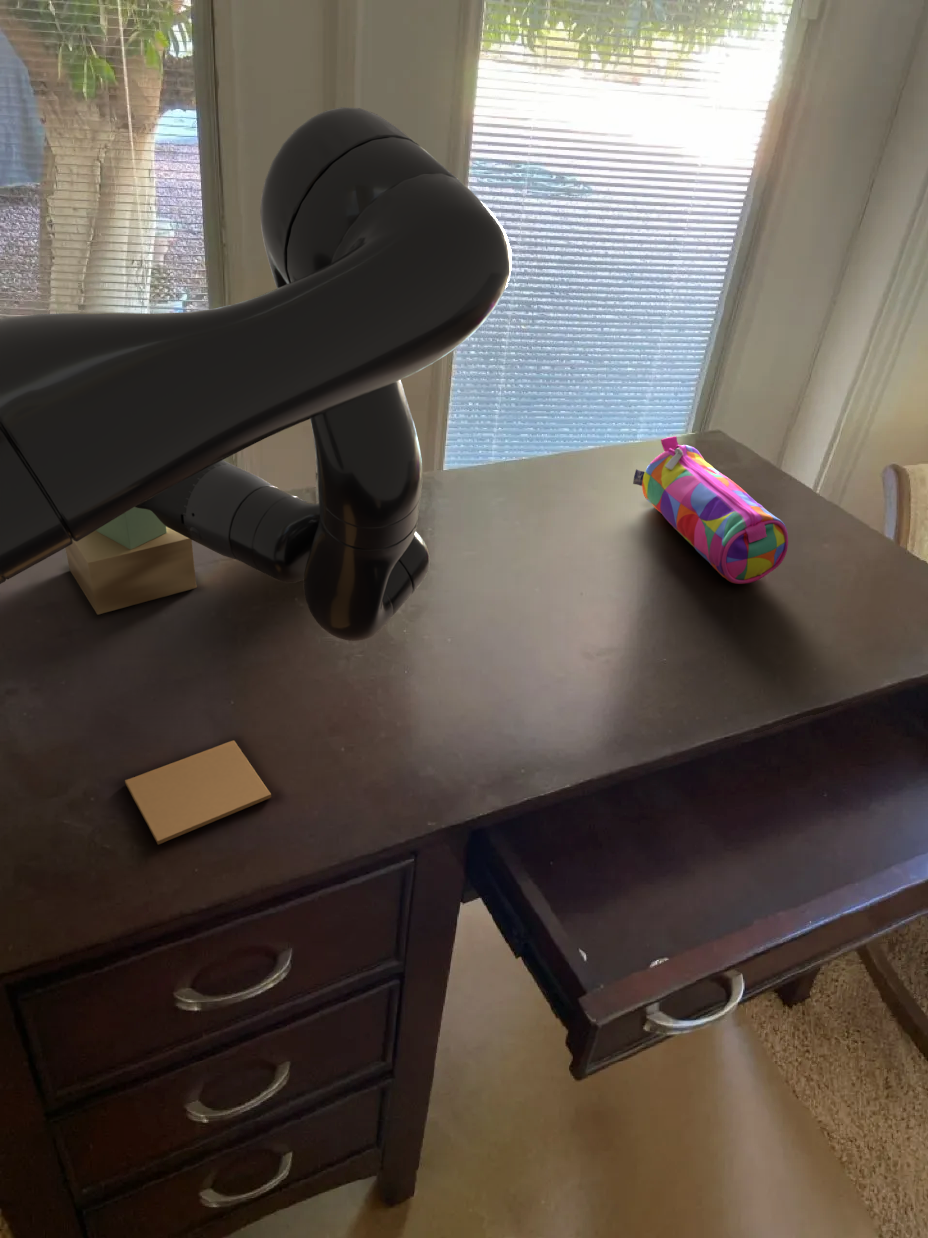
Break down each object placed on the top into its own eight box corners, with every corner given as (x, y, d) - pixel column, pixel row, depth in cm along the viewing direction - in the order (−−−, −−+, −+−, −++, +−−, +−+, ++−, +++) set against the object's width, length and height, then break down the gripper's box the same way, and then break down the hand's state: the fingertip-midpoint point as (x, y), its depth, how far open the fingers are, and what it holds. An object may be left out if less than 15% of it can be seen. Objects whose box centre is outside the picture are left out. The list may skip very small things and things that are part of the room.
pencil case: (623, 502, 115) (638, 437, 110) (685, 496, 119) (702, 433, 113) (714, 595, 99) (736, 525, 94) (783, 585, 102) (808, 517, 97)
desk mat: (158, 845, 65) (157, 841, 65) (125, 784, 69) (124, 780, 69) (271, 797, 69) (271, 794, 69) (234, 743, 74) (233, 739, 74)
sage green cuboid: (130, 549, 85) (116, 454, 79) (83, 524, 88) (66, 430, 82) (167, 532, 88) (156, 439, 82) (120, 508, 91) (106, 417, 85)
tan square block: (97, 615, 86) (87, 562, 83) (69, 569, 92) (59, 519, 88) (196, 587, 91) (191, 537, 88) (164, 546, 97) (158, 498, 93)
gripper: (278, 442, 80) (150, 388, 87) (150, 496, 70) (18, 430, 77) (281, 515, 85) (159, 457, 92) (161, 576, 75) (34, 506, 82)
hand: (95, 446), depth 84 cm, fingers closed on sage green cuboid, 4 cm apart
